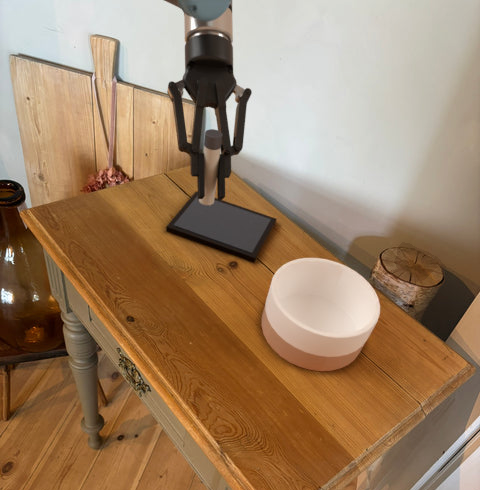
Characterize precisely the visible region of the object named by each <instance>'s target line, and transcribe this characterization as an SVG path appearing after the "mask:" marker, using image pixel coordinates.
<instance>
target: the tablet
mask: <svg viewBox="0 0 480 490" xmlns="http://www.w3.org/2000/svg"><path fill="white" fill-rule="evenodd" d="M276 224H277V218H275V217H272V216H270V215H267V214H264V213H261V212H257V211H255V210H253V209H248V208H247V207H244V206H240V205H238V204H235V203H231V202H228V201H226V200H224V199H222V200H218V197H215V199H214V203H213V204H212V205H203V204H201V203H200V202H199V199H198V190H196V191H195V192H194V193H193V194H192V195H191V197H190V198H189V199H188V200H187V201H186V203H184V205H183V206H182V207H181V209H179V211H178V212H177V213H176V215H175V216H174V217H173V218H172V219H171V220H170V221H169V223H168V224H167V225H166V227H165V229H166V232H167V233H169V234H172V235H175V236H178V237H181V238H184V239H185V240H189V241H191V242H195V243H197V244H201V245H203V246H206V247H209V248H211V249H215V250H217V251H220V252H222V253H225V254H227V255H231V256H234V257H237V258H239V259H241V260H245V261H247V262H251V263H253V264H254V263H255V262H256V260H257V258H258V257H259V254H260V253H261V251H262V250H263V248H264V246H265V244H266V242H267V240H268V238H269V237H270V235H271V233H272V231H273V229H274V228H275V225H276Z"/></svg>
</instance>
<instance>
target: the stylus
mask: <svg viewBox="0 0 480 490" xmlns="http://www.w3.org/2000/svg"><path fill="white" fill-rule="evenodd" d="M221 143H222V133H221V132H220V131H218V129H214V128H213V129H212V128H211V129H207V130H205V132H204V142H203V152H202V153H204V180H205V196H204V198H203V199H199V202H200V203H201V204H203V205H212V204H213V203H214V199H215V198H216V191H217V175H218V167H219V158H220V154H221Z"/></svg>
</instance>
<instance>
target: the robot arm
mask: <svg viewBox="0 0 480 490" xmlns="http://www.w3.org/2000/svg"><path fill="white" fill-rule="evenodd" d="M163 1H164V2H166V3H168V4H170V5H173V6H175V7H177V8H179V9H180V10H181V11H182V12H183V17H184V22H183V23H184V43H185V44H184V73H183V76H182V79H180V80H179V81H176V82H175V81H172V80H171V81H169V82H168V84H167V95H168V97H169V100H170V101H171V103H172V110H173V117H174V125H175V126H174V127H175V132H176V141H177V148H178V151H179V152H180V153H186V154H187V155H188V156H189V163H190V164H189V165H190V171H189V172H190V175H191V177H196V179H197V180H196V181H197V182H196V184H197V185H196V186H197V192H198V199H203V198H204V196H205V180H204V153H203V152H200V146H201V138H202V137H201V136H202V130H203V118H204V111H205V109H207V108H211V109H213V110H214V115H215V117H216V118H215V119H216V126H217V130H218V131H220V132H221V133H222V143H221V150H220V158H219V167H218V175H217V183H216V191H217V199H218V200H224V199H225V197H226V179H229V178H230V176H231V175H232V157H233V156H238V155H239V154H240V153H241V152H242V150H243V147H244V137H245V127H246V117H247V105H248V102H249V100H250V98H251V96H252V89H251V88H249V87H246V88H243V87H242V86H240V85H238V84H237V83H238V82H237V79H236V78H235V77H236V76H235V74H234V45H233V42H234V28H233V0H163ZM184 90H185V92H186V93H187V95H188V96H189V98H190V99H191V100H192V102H193V103H194V108H193V119H192V128H191V138H190V142H188V136H187V127H186V120H185V119H186V118H185V113H184V112H185V111H184V104H183V96H184ZM233 94H234V102H235V103H237V104H236V107H235V117H234V126H233V138H232V142H231V135H230V127H229V121H228V114H227V113H228V112H227V101H228V100H229V99H230V97H231V96H232V95H233Z"/></svg>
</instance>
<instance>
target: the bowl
mask: <svg viewBox="0 0 480 490" xmlns="http://www.w3.org/2000/svg"><path fill="white" fill-rule="evenodd" d="M380 315H381V304H380V298H379V296H378V294H377V292H376V290H375V289H374V287H373V286H372V284H371V283H370V282H369V281H368V280H366V278H365V277H363V275H361V274H360V273H358V271H356V270H354V269H352V268H351V267H349V266H347V265H345V264H342V263H340V262H338V261H334V260H331V259H327V258H321V257H302V258H296V259H293V260H290V261H288V262H286V263H285V264H283V265H281V266H280V267H279V268H278V269H277V270H276V272H275V273H274V274H273V276H272V278H271V282H270V284H269V289H268V292H267V296H266V299H265V304H264V308H263V311H262V315H261V326H260V327H261V329H262V334H263V337H264V338H265V340H266V343H267V344H268V345H269V346H270V348H271V349H272V350H273V351H274V352H275V353H276V354H277V355H278V356H279V357H280V358H282V359H284V360H285V361H286V362H288V363H290V364H292V365H295V366H296V367H299V368H302V369H306V370H309V371H316V372H332V371H336V370H341V369H343V368H344V367H348V366H349V365H350V364H351V363H353V362H354V361H355V360H356V358H357V357H358V356H359V354H360V353H361V351H362V349H363V348H364V346H365V344H366V342H367V341H368V339H369V337H370V336H371V334H372V333H373V330H374V328H375V327H376V325H377V323H378V321H379V318H380Z"/></svg>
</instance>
